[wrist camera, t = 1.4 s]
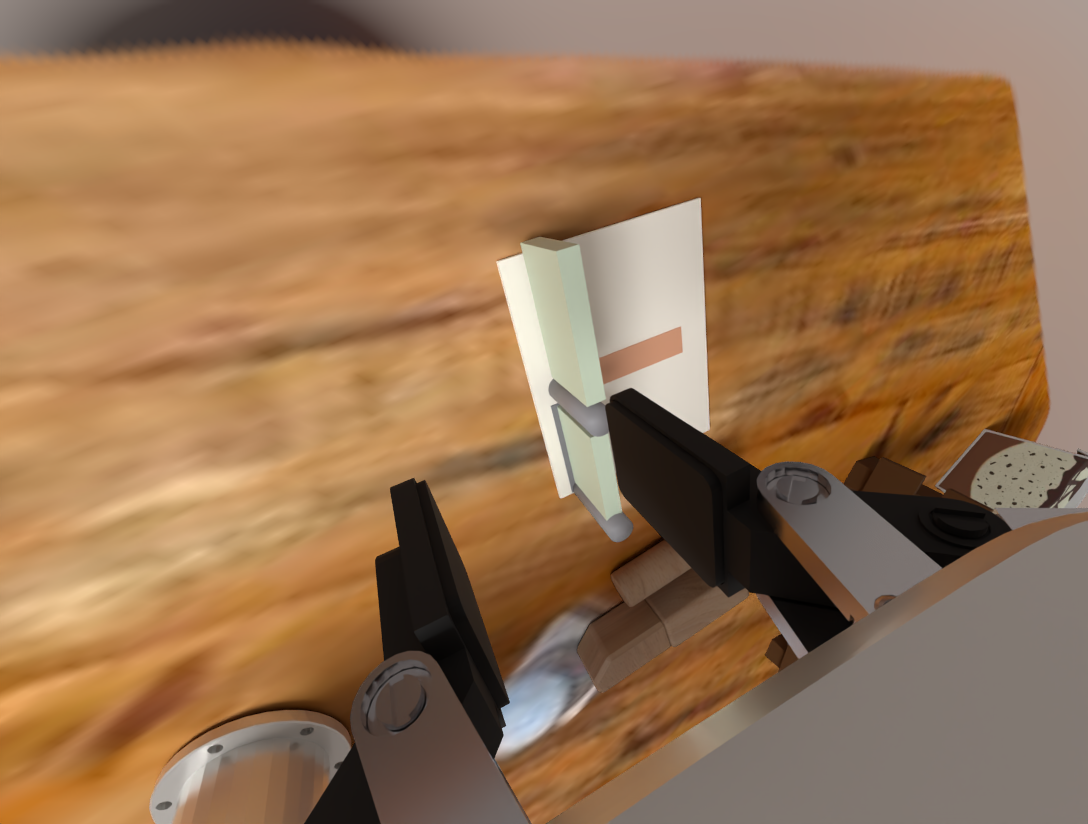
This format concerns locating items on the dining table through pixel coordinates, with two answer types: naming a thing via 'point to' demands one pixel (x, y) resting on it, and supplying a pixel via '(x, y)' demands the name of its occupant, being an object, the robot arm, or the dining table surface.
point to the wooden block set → (650, 615)
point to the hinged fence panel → (565, 316)
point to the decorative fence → (882, 480)
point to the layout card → (628, 320)
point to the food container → (1018, 473)
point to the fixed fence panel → (591, 461)
